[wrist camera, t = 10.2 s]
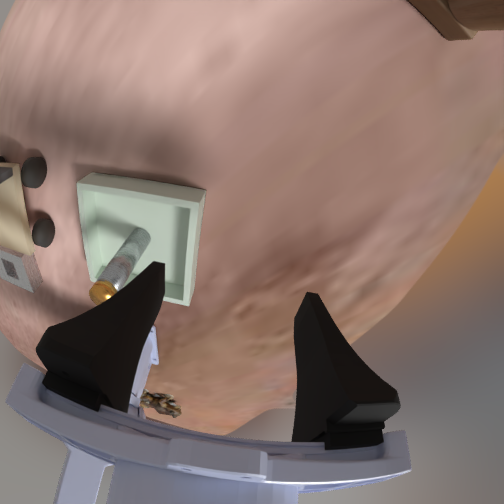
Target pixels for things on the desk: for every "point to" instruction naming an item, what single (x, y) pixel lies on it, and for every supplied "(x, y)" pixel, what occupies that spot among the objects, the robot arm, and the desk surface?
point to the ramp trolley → (22, 206)
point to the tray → (143, 226)
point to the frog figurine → (160, 404)
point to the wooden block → (462, 16)
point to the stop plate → (19, 269)
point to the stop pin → (120, 266)
